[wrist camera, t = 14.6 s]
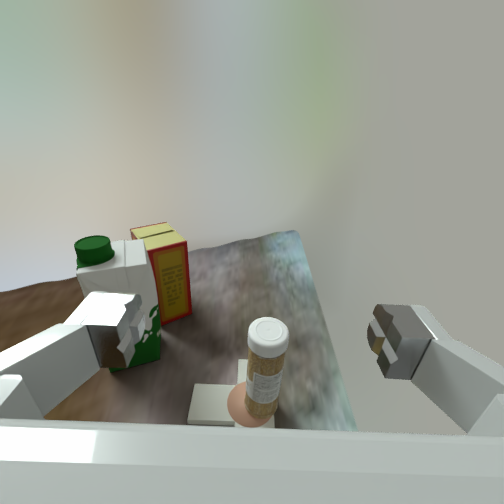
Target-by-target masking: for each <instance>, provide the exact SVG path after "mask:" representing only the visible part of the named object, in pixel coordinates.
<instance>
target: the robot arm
mask: <svg viewBox="0 0 504 504" xmlns="http://www.w3.org/2000/svg"><path fill="white" fill-rule="evenodd" d="M141 305H142V299H141V295H139V294H138V293H122V292H104V291H93V292H91V293H90V294H89V295H88V296H87V297H86V298H85V299H84V301H83V302H82V303H81V304H80V305H79V306H78V308H77V309H76V310H75V311H74V312H73V313H72V314H71V316H70V317H69V318H68V319H67V320H66V321H65V322H64V324H57V325H55V326H53V327H51V328H49V329H47V330H45V331H43V332H41V333H39V334H37V335H35V336H33V337H31V338H29V339H27V340H25V341H23V342H21V343H19V344H17V345H15V346H13V347H11V348H9V349H7V350H5V351H3V352H1V353H0V504H504V367H503V366H501V365H500V364H498V363H496V362H494V361H493V360H491V359H489V358H488V357H486V356H484V355H482V354H481V353H479V352H477V351H475V350H474V349H472V348H470V347H469V346H467V345H465V344H463V343H462V342H460V341H456V340H453V339H452V338H451V337H450V336H449V334H448V333H447V332H446V331H445V330H444V328H443V327H442V326H441V325H440V324H439V322H438V321H437V320H436V319H435V318H434V317H433V316H432V314H431V313H430V312H429V311H428V309H427V308H426V307H424V306H422V305H386V304H377V305H376V307H375V309H374V311H373V315H374V316H375V319H374V320H373V321H371V322H370V323H369V326H368V330H367V338H368V343H369V346H370V348H371V350H372V351H373V352H375V353H376V354H377V355H378V359H377V363H378V365H379V367H380V369H381V371H382V373H383V375H384V377H385V378H388V379H403V380H404V379H405V380H411V382H412V383H413V384H415V386H417V387H418V388H419V389H420V390H421V391H422V392H423V393H424V394H425V395H426V396H427V397H428V398H430V399H431V400H432V401H433V402H434V403H435V404H436V405H437V406H438V407H439V408H440V409H441V410H443V411H444V412H445V413H446V414H447V415H448V416H449V417H450V418H451V419H452V420H453V421H454V422H455V423H456V424H457V425H459V426H460V427H461V428H462V429H463V430H464V431H465V432H466V433H467V435H441V434H440V435H439V434H414V433H386V432H385V433H384V432H357V431H329V430H301V429H275V428H248V427H222V426H195V425H168V424H141V423H114V422H87V421H60V420H45V419H44V417H43V416H45V415H46V414H47V413H48V412H49V411H51V410H52V409H53V408H54V407H55V406H57V405H58V404H59V403H60V402H61V401H63V400H64V399H65V398H66V397H67V396H69V395H70V394H71V393H72V392H73V391H75V390H76V389H77V388H78V387H79V386H80V385H82V384H83V383H84V382H85V381H86V380H88V379H89V378H90V377H91V376H92V375H94V374H95V373H96V372H97V371H98V370H100V368H127V367H128V365H129V363H130V361H131V359H132V357H133V355H134V353H135V348H134V345H135V344H136V343H138V342H139V341H140V340H141V338H142V336H143V333H144V329H145V314H144V313H143V312H142V311H141V310H140V307H141Z"/></svg>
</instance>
